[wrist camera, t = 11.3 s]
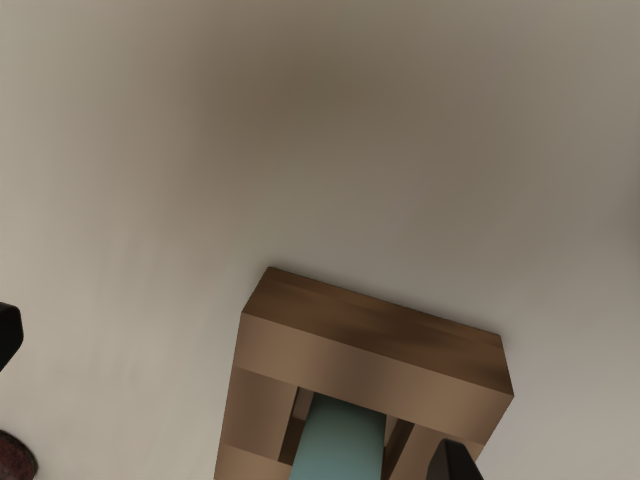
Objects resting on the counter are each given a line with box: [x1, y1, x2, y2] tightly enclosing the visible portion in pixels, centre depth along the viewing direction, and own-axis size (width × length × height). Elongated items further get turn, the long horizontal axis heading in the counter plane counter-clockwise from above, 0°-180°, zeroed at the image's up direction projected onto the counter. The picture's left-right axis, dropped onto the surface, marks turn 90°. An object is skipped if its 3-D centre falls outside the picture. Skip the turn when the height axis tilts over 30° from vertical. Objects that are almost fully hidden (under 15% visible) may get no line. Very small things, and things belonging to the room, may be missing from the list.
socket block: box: [214, 267, 514, 480], centre depth 24 cm, size 12×12×4 cm
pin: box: [289, 391, 387, 480], centre depth 22 cm, size 4×4×8 cm
